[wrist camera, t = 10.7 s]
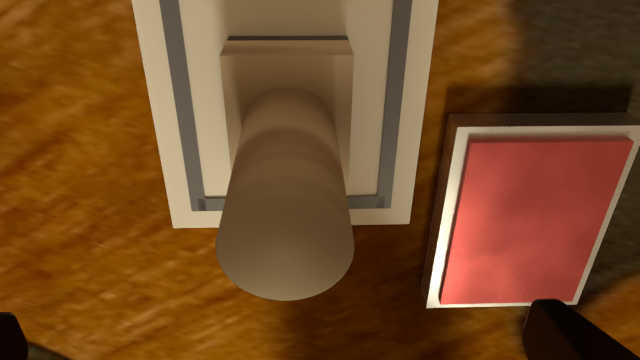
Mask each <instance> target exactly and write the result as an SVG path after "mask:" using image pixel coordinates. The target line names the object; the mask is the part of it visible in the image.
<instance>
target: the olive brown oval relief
mask: <svg viewBox="0 0 640 360" xmlns="http://www.w3.org/2000/svg"><path fill="white" fill-rule="evenodd" d="M28 347H29V353H28V358H27V360H66V359H64V358H62V357H59V356H57V355H54V354H52V353H49V352H46V351H44V350H41V349H38V348H35V347H31V346H28Z"/></svg>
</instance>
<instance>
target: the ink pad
mask: <svg viewBox="0 0 640 360" xmlns="http://www.w3.org/2000/svg"><path fill="white" fill-rule="evenodd" d="M639 146H640V120H639V119H637V118H636V117H634V116H633V115H631V114H630V113H628V112H619V113H480V114H448V119H447V126H446V132H445V138H444V144H443V151H442V157H441V163H440V169H439V176H438V182H437V188H436V194H435V201H434V207H433V213H432V220H431V226H430V232H429V238H428V245H427V251H426V257H425V263H424V270H423V276H422V282H421V288H420V290H421V293H422V296H423V299H424V303H425V306H426V308H449V307H491V306H531V303H532V302H533V301H534V300H535V299H549V298H555V299H559V300H561V301H562V302H564V303H565V304H567V305H574V304H577V302H578V300H579V297H580V295H581V292H582V290H583V287H584V285H585V282H586V280H587V277H588V275H589V272H590V269H591V267H592V264H593V262H594V259H595V257H596V254H597V252H598V249H599V247H600V244H601V242H602V239H603V237H604V234H605V232H606V229H607V226H608V224H609V221H610V219H611V216H612V214H613V211H614V209H615V206H616V204H617V201H618V199H619V196H620V194H621V191H622V189H623V186H624V183H625V181H626V178H627V176H628V173H629V171H630V168H631V166H632V163H633V161H634V158H635V156H636V153H637V151H638V148H639Z"/></svg>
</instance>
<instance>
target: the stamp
mask: <svg viewBox="0 0 640 360" xmlns="http://www.w3.org/2000/svg"><path fill="white" fill-rule="evenodd" d="M219 57H220V67H221V77H222V86H223V96H224V106H225V116H226V126H227V136H228V146H229V156H230V166H231V177H230V181H229V186H228V190H227V194H226V199H225V203H224V207H223V211H222V216H221V220H220V224H219V229H218V233H217V237H216V255H217V259H218V262H219V264H220V266H221V268H222V270H223V271H224V273H225V274H226V275H227V277H228V278H229V279H230V280H231V281H232V282H233V283H234V284H236V285H237V286H238V287H240V288H241V289H243V290H245V291H247V292H249V293H251V294H253V295H256V296H259V297H262V298H266V299H270V300H279V301H291V300H300V299H305V298H309V297H312V296H315V295H317V294H320V293H322V292H324V291H326V290H327V289H329V288H331V287H332V286H333V285H335V284H336V283H337V282H338V281H339V280H340V279H341V278H342V277H343V276H344V275H345V273H346V272H347V270H348V269H349V267H350V265H351V262H352V259H353V256H354V237H353V231H352V225H351V219H350V213H349V207H348V201H347V196H348V180H349V158H350V136H351V114H352V92H353V69H354V53H353V51H352V48H351V45H350V42H349V39H348V36H229V37H228V39H227V41H226V43H225V45H224V47H223V49H222V51H221V53H220V56H219Z"/></svg>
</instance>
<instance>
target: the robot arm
mask: <svg viewBox="0 0 640 360" xmlns="http://www.w3.org/2000/svg"><path fill="white" fill-rule="evenodd" d="M522 341H523V345H524V349H525V352H526V355H527V358H528V360H640V358H639V357H638V356H637V355H635V354H634V353H632V352H631V351H630V350H628V349H627V348H626V347H624V346H623V345H621V344H620V343H619V342H617V341H616V340H615V339H613V338H612V337H610V336H609V335H608V334H606V333H605V332H604V331H602V330H601V329H599V328H598V327H597V326H595V325H594V324H593V323H591V322H590V321H588V320H587V319H586V318H584V317H583V316H582V315H580V314H579V313H577V312H576V311H575V310H573V309H572V308H571V307H569V306H568V305H567V304H565V303H564V302H562V301H561V300H559V299H555V298H549V299H535V300H534V301H533V302H532V303H531V306H530V309H529V312H528V315H527V318H526V321H525V324H524V327H523V330H522ZM28 353H29V347H28V342H27V340H26V338H25V336H24V333H23V331H22V329H21V327H20V325H19V322H18V320H17V318H16V316H15V315H14V314H12V313H11V312H0V360H27V358H28Z"/></svg>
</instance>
